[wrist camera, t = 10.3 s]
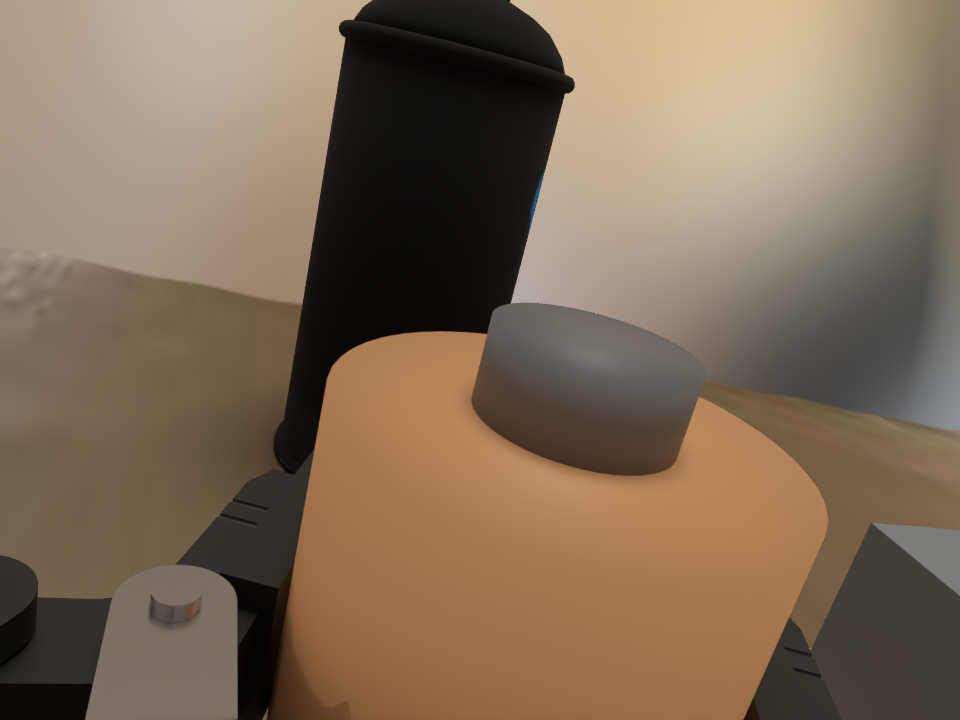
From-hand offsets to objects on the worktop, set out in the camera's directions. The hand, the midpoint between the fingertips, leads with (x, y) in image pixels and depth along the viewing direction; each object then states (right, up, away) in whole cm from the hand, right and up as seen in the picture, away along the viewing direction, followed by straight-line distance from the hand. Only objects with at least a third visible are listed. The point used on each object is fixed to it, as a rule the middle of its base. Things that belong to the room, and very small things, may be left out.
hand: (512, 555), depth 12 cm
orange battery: (-1, -6, -1) cm, 6 cm away
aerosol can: (-5, -1, +19) cm, 20 cm away
